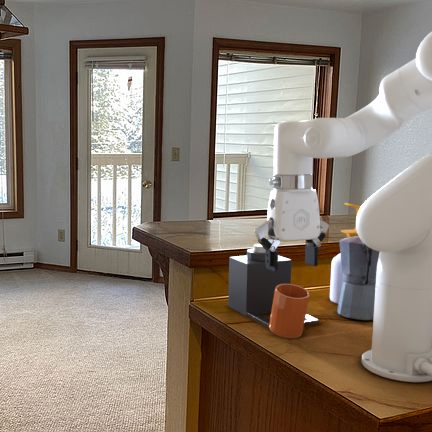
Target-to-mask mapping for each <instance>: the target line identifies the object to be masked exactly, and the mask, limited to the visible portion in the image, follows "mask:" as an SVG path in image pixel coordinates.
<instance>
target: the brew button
mask: <svg viewBox="0 0 432 432" xmlns="http://www.w3.org/2000/svg"><path fill="white" fill-rule="evenodd" d="M253 249H254V252H258V253H265V249H263V246H262V245H261V244H260V243H255V244H253Z"/></svg>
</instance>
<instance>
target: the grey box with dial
mask: <svg viewBox="0 0 432 432" xmlns="http://www.w3.org/2000/svg"><path fill="white" fill-rule="evenodd" d="M228 259H229V260H228V262H229V263H228V301H227V303H228V305H227V306H228V308H230V309H233V310H234V311H236V312H238V313H239V314H241V315H243V316H245V317H247V316H246V312H253V311H254V312H256V313H258V314H260V315H264V314H271V311H272V305H273V299H274V293H275V288H276V286H277V285H280V284H292V263H293V260H292V259H290V258H287V257H284V256H282V255H278V270H277V271H273V270H270V269H267V268H266V264H265V253H258V252H254V248H249V249H247V250H246V255H239V256H238V255H237V256H229V258H228Z"/></svg>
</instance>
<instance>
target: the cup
mask: <svg viewBox="0 0 432 432" xmlns="http://www.w3.org/2000/svg"><path fill="white" fill-rule="evenodd" d="M310 297H311V293H310V291H309V290H308V289H306V288H305V287H303V286H301V285H297V284H293V283H291V284H280V285H277V286H276V288H275V293H274V299H273V305H272V311H271V313H270V317H269V320H270V323H269V328H270V329H269V330H270V332H271V333H273V334H274V335H275V336H278V337H281V338H284V339H298V338H300V337H302V336H303V333H304V328H305V326H304V323H305V318H306V314H307V313H308V312H307V311H308V307H309V303H310V302H309V301H310Z"/></svg>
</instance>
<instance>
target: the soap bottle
mask: <svg viewBox="0 0 432 432" xmlns="http://www.w3.org/2000/svg"><path fill="white" fill-rule="evenodd" d="M344 206H348V207H350V208H353V209H355V210H356V215H357V214H358V212H359V210H360V208H361V206H360V205H357V204H353V203H348V202H344ZM340 233H343V234H346V237H347V238H349V237H356V236H358V234H357V230H356V226H355V227H354V228H353V229H341V230H340ZM330 266H331V268H330V284H329V285H330V286H329V299H330V302H333V303H335V304H337V305H338V304H339V299H340V294H341V290H342V284H343V282H344V280H343V272H342V266H341V252H340V253H338V254H337V255H335V256H334V257H333V258H332V260H331V265H330Z"/></svg>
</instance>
